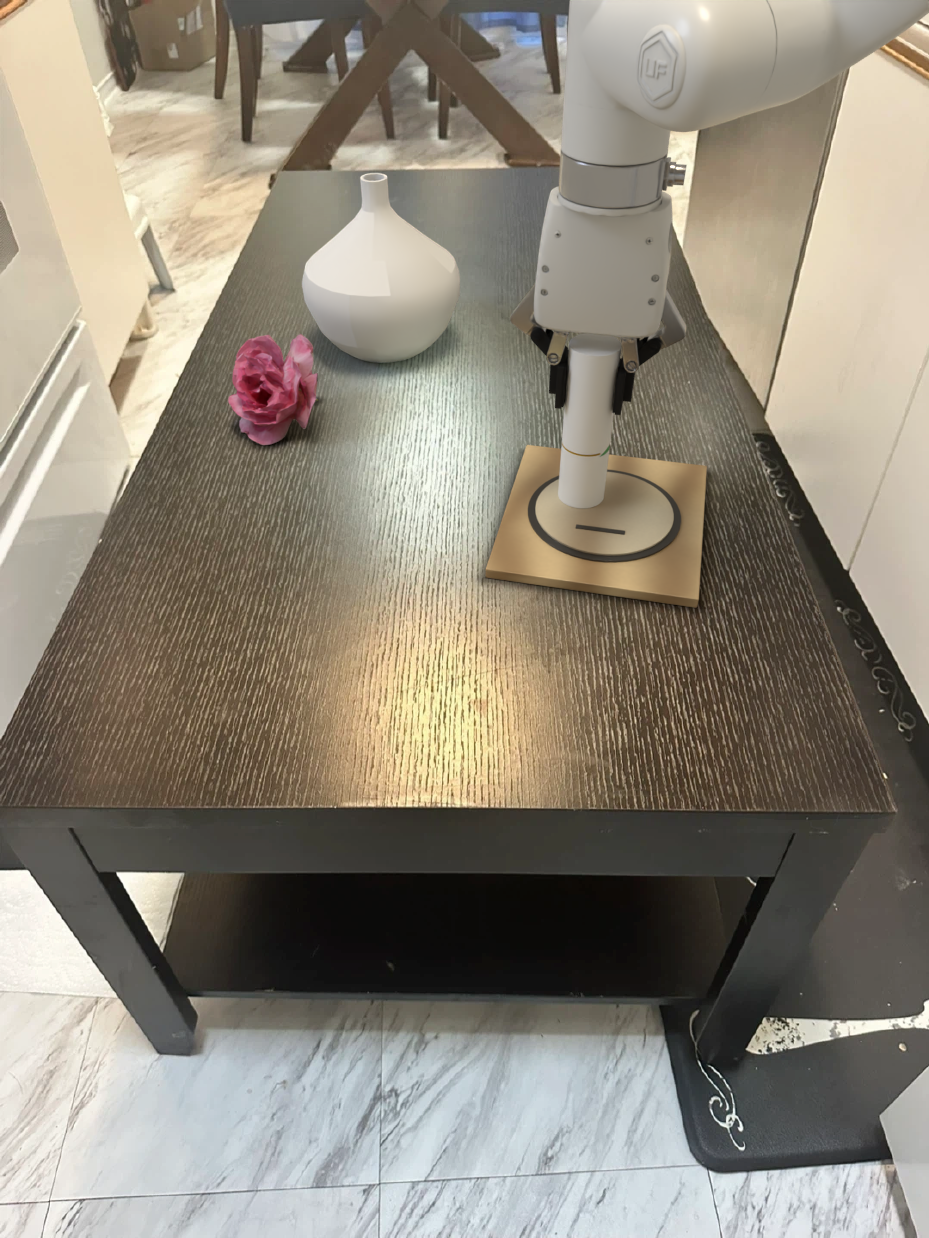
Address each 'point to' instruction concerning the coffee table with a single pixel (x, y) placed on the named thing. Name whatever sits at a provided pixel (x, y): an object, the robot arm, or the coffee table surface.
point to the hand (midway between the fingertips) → (589, 402)
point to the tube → (588, 418)
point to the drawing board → (606, 530)
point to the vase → (381, 283)
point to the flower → (273, 387)
